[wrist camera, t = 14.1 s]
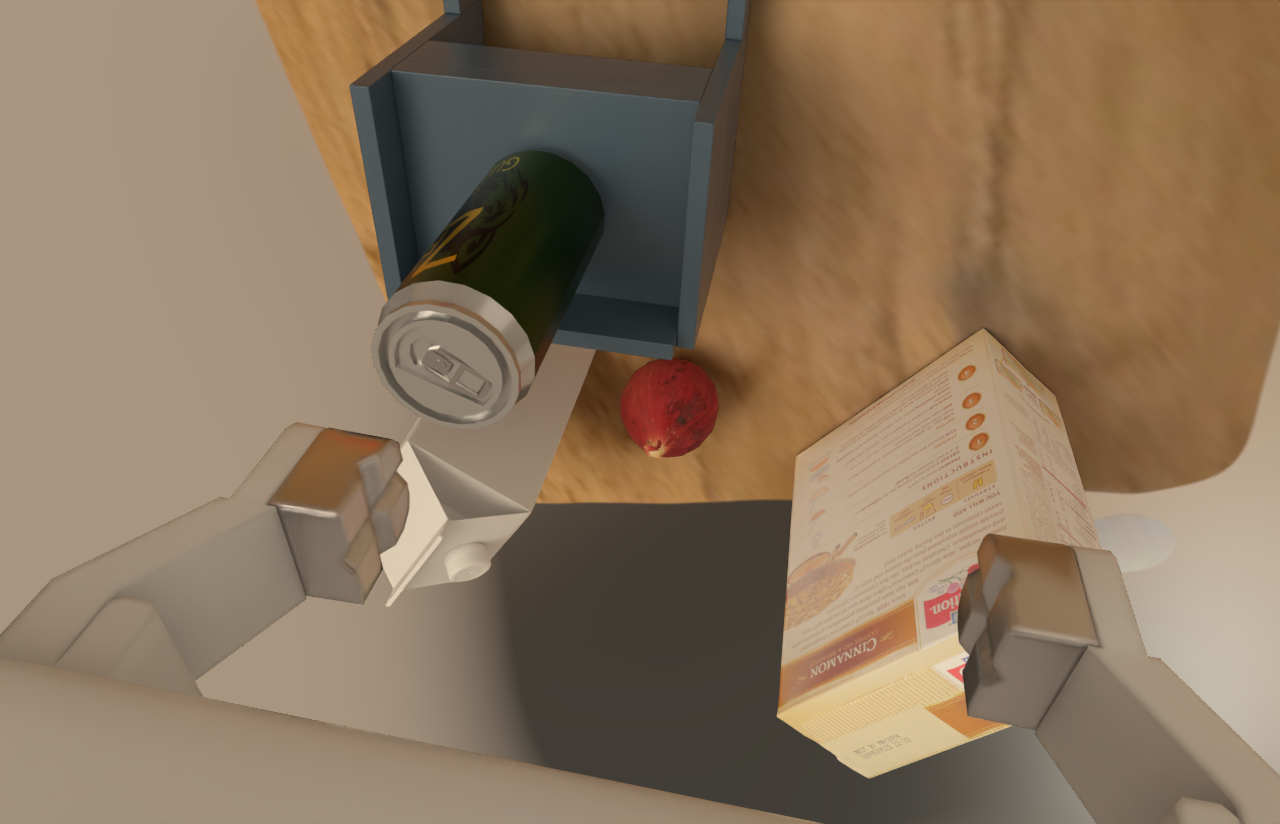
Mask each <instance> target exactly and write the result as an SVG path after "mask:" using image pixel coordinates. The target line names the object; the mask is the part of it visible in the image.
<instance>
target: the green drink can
mask: <svg viewBox="0 0 1280 824" xmlns="http://www.w3.org/2000/svg"><path fill="white" fill-rule="evenodd" d="M604 219H605V212H604V208H603V205H602V201H601V197H600V194H599V192H598V190H597V188H596V186H595V185H594V183H593V182H592V180H591V178H590V177H589V175H588V174H587V173H586V172H585V171H584V170H583V169H582V168H581V167H580V166H579V165H577V164H576V163H575V162H574V161H573V160H571V159H568V158H566V157H564V156H562V155H560V154H558V153H555V152H549V151H543V150H527V151H521V152H514V153H512V154H510V155H508V156H506V157H505V158H503V159H501V160H499V161H498V162H497V163H496V164H495V165H494V166H493V167H492V169H491V170H490V171H489V172H488V174H487V175H486V176H485V177H484V179H483V180H482V181H481V182H480V184H479V185H478V186H477V188H476V189H475V190H474V191H473V193H472V194H471V195H470V197H469V198H468V199H467V200H466V202H465V203H464V204H463V206H462V207H461V208H460V209H459V211H458V212H457V213H456V214H455V216H454V217H453V218H452V220H451V221H450V222H449V223H448V225H447V226H446V227H445V229H444V230H443V231H442V232H441V234H440V235H439V236H438V238H437V239H436V240H435V241H434V243H433V244H432V245H431V246H430V248H429V249H428V250H427V252H426V253H425V254H424V255H423V257H422V258H421V259H420V261H419V262H418V263H417V264H416V266H415V267H414V268H413V269H412V271H411V272H410V273H409V275H408V276H407V277H406V278H405V280H404V281H403V282H402V284H401V285H400V286H399V287H398V289H397V290H396V291H395V293H394V294H393V295H392V296H391V298H390V299H389V300H388V301H387V303H386V304H385V305H384V307H383V308H382V311H381V315H380V319H379V323H378V327H377V328H376V329H375V333H374V337H373V341H372V345H371V351H372V358H373V364H374V368H375V370H376V372H377V373H378V376H379V378H380V380H381V382H382V384H383V386H384V387H385V388H386V389H387V390H388V391H389V392H390V394H392V396H393V397H394V398H395V399H396V400H397V402H399V403H400V404H401V405H403V406H404V407H406V408H407V409H408V410H410V411H411V412H412V413H414V414H415V415H417V416H418V417H421V418H423V419H425V420H427V421H430V422H432V423H434V424H436V425H439V426H444V427H449V428H454V429H460V430H463V429H480V428H484V427H486V426H489V425H492V424H494V423H497V422H499V421H500V420H501V419H502V418H503V417H505V416H506V415H507V414H508V413H509V412H510V411H511V410H512V408H513V407H514V406H515V405H516V404H517V403H518V402H519V401H520V400H522V399H523V398H524V397H525V396H526V395H527V393H528V391H529V389H530V387H531V385H532V383H533V381H534V379H535V377H536V374H537V372H538V370H539V368H540V366H541V364H542V362H543V360H544V358H545V355H546V353H547V351H548V349H549V347H550V345H551V343H552V341H553V339H554V336H555V334H556V332H557V330H558V328H559V326H560V324H561V322H562V320H563V317H564V315H565V313H566V311H567V309H568V307H569V305H570V303H571V301H572V298H573V296H574V294H575V292H576V290H577V288H578V286H579V284H580V282H581V280H582V277H583V275H584V273H585V271H586V269H587V267H588V265H589V263H590V261H591V258H592V256H593V254H594V252H595V250H596V248H597V246H598V243H599V241H600V239H601V237H602V234H603V232H604Z"/></svg>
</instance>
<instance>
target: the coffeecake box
mask: <svg viewBox="0 0 1280 824" xmlns="http://www.w3.org/2000/svg"><path fill="white" fill-rule="evenodd" d="M988 533H991V534H998V535H1004V536H1011V537H1018V538H1025V539H1031V540H1038V541H1045V542H1051V543H1058V544H1064V545H1066V546H1068V545H1072V546H1079V547H1086V548H1093V549H1100V550H1101V546H1100V543H1099V540H1098V537H1097V533H1096V530H1095V526H1094V523H1093V520H1092V517H1091V513H1090V510H1089V506H1088V503H1087V499H1086V496H1085V493H1084V489H1083V486H1082V482H1081V479H1080V476H1079V472H1078V469H1077V466H1076V463H1075V459H1074V456H1073V452H1072V449H1071V446H1070V443H1069V439H1068V436H1067V432H1066V429H1065V425H1064V422H1063V419H1062V416H1061V413H1060V409H1059V406H1058V403H1057V401H1056V396H1055V395H1054V394H1053V393H1052V392H1051V391H1050V390H1049V389H1047V388H1046V387H1045V386H1044V385H1043V384H1042V383H1041V382H1040V381H1039V380H1038V379H1037V378H1036V377H1034V376H1033V375H1032V374H1031V373H1030V372H1029V371H1028V370H1027V369H1026V368H1025V367H1024V366H1023V365H1022V364H1021V363H1020V362H1019V361H1018V360H1017V359H1016V358H1015V357H1013V356H1012V355H1011V354H1010V353H1009V352H1008V351H1007V350H1006V349H1005V348H1004V347H1003V346H1002V345H1001V344H1000V343H999V342H998V341H997V340H996V339H995V338H994V337H993V336H992V335H990V334H989V333H988V332H987V331H986V330H985V329H984V328H983V329H981V330H979V331H978V332H976V333H975V334H973V335H972V336H970V337H969V338H967V339H966V340H964V341H963V342H961V343H960V344H958V345H957V346H956V347H954V348H953V349H951V350H950V351H948V352H947V353H945V354H944V355H942V356H941V357H940V358H938V359H937V360H935V361H934V362H932V363H931V364H929V365H928V366H926V367H925V368H924V369H922V370H921V371H919V372H918V373H916V374H915V375H913V376H912V377H910V378H909V379H907V380H906V381H904V382H903V383H902V384H900V385H899V386H897V387H896V388H894V389H893V390H891V391H890V392H889V393H887V394H886V395H884V396H883V397H881V398H880V399H879V400H877V401H876V402H874V403H873V404H871V405H870V406H868V407H867V408H865V409H864V410H862V411H861V412H859V413H858V414H857V415H855V416H854V417H852V418H851V419H849V420H848V421H847V422H845V423H844V424H842V425H841V426H839V427H838V428H836V429H835V430H833V431H832V432H830V433H829V434H827V435H826V436H825V437H823V438H822V439H820V440H819V441H817V442H816V443H814V444H813V445H812V446H810V447H809V448H807V449H806V450H804V451H803V452H801V453H800V454H798V455H797V456H796V457H795V473H794V489H793V505H792V518H791V532H790V547H789V561H788V576H787V591H786V605H785V620H784V634H783V648H782V662H781V678H780V692H779V706H778V713H777V717H778V718H780V719H781V720H783V721H784V722H786V723H787V724H789V725H790V726H792V727H793V728H795V729H796V730H797V731H799V732H800V733H802V734H803V735H805V736H807V737H808V738H810V739H812V740H814V741H816V742H817V743H818V744H820V745H821V746H823V747H824V748H826V749H827V750H829V751H830V752H831V753H833V754H834V755H836V756H837V759H838V760H839V761H840V762H842V763H843V764H845V765H846V766H848V767H850V768H851V769H853V770H855V771H856V772H858V773H860V774H862V775H863V776H865V777H867V778H872V777H874V776H877V775H879V774H883V773H885V772H888V771H890V770H893V769H896V768H899V767H901V766H904V765H907V764H910V763H912V762H915V761H918V760H920V759H923V758H926V757H928V756H931V755H934V754H937V753H939V752H942V751H945V750H948V749H950V748H953V747H955V746H958V745H961V744H964V743H966V742H969V741H972V740H975V739H978V738H980V737H983V736H986V735H988V734H991V733H994V732H997V731H999V730H1002V729H1005V728H1008V727H1010V726H1012V725H1007V724H1002V723H998V722H993V721H988V720H983V719H979V718H974V717H969V716H968V715H967V707H966V699H965V690H964V682H963V674H962V671H963V669H964V667H965V665H966V663H967V660H968V658H969V654H968V653H967V652H966V651H965V650H964V648H963V647H962V646H961V645H960V644H959V637H958V627H957V626H958V607H959V601H960V595H961V591H962V588H963V585H964V583H965V580H966V577H967V575H968V574H970V573H972V572H974V571H975V570H977V569H979V564H978V556H977V551H978V549H979V547H980V545H981V542H982V540H983V539H984V538H985V537H986V535H987V534H988Z"/></svg>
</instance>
